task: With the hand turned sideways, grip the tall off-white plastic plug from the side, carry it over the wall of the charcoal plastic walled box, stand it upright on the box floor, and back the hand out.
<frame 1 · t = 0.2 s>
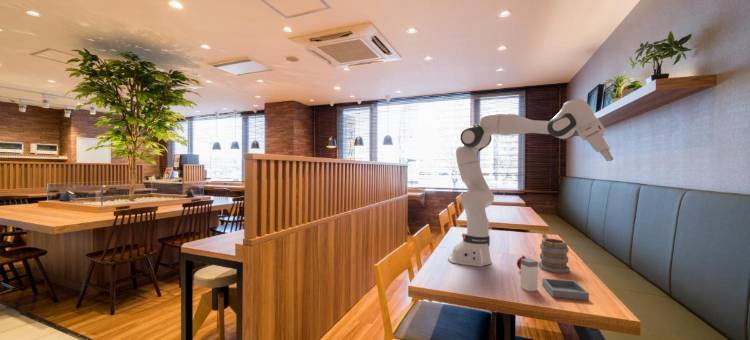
hand: (610, 160, 126), 54 cm above the table, tool tilted 30°, fingers open, 8 cm apart
onion: (523, 272, 148), on the table
tankard: (550, 266, 156), on the table
plug: (528, 288, 128), on the table
walled box: (564, 292, 124), on the table
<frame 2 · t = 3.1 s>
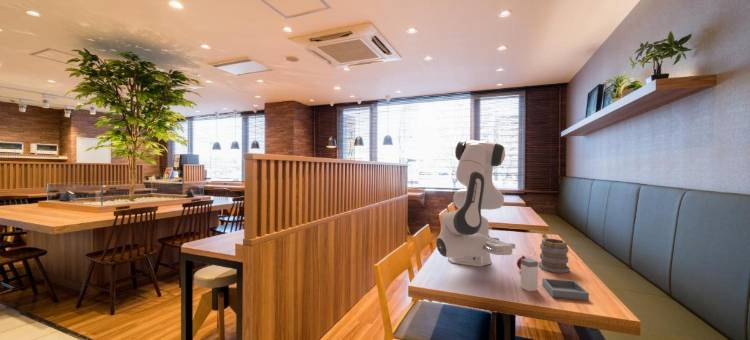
hand: (505, 242, 124), 20 cm above the table, tool horizontal, fingers open, 8 cm apart
nothing on the table moved.
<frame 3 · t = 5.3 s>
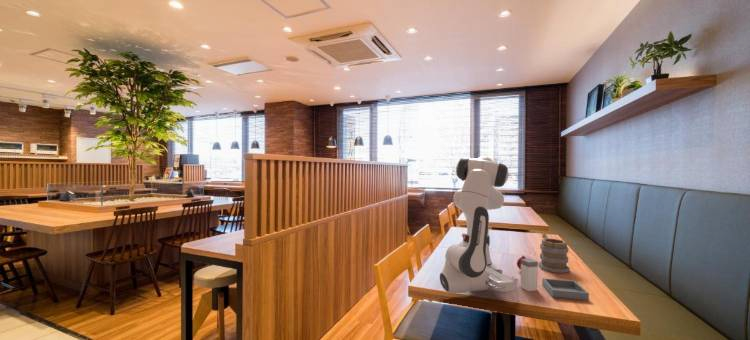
hand: (508, 275, 125), 6 cm above the table, tool horizontal, fingers open, 8 cm apart
nothing on the table moved.
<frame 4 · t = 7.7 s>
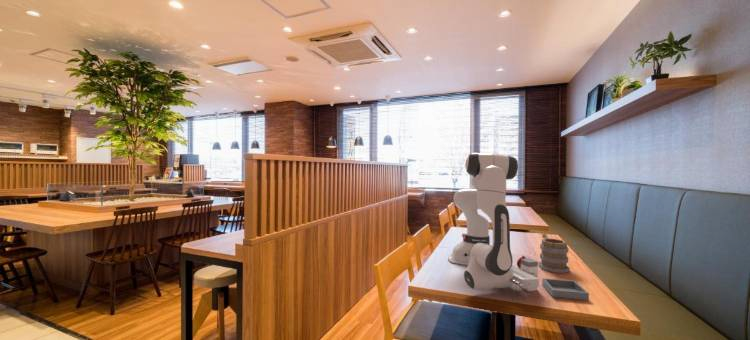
hand: (530, 273, 128), 7 cm above the table, tool horizontal, fingers closed on plug, 4 cm apart
plug: (528, 288, 128), on the table, touching gripper
everything else where it was.
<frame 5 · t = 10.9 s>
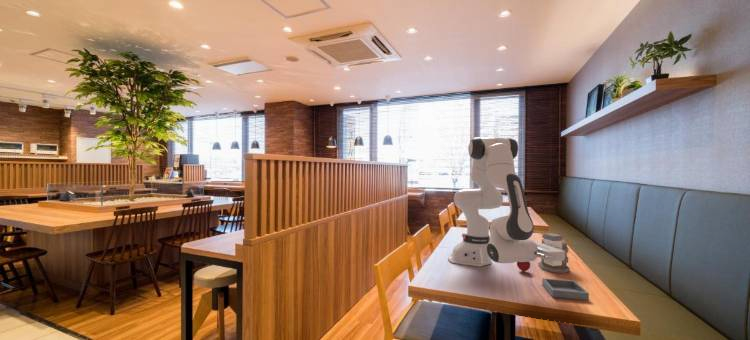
hand: (554, 247, 125), 18 cm above the table, tool horizontal, fingers closed on plug, 4 cm apart
plug: (552, 263, 125), point 11 cm above the table, touching gripper
everything else where it was.
when the fingers open (8 cm above the table, at t = 14.0 s): plug drops 1 cm, resting on walled box.
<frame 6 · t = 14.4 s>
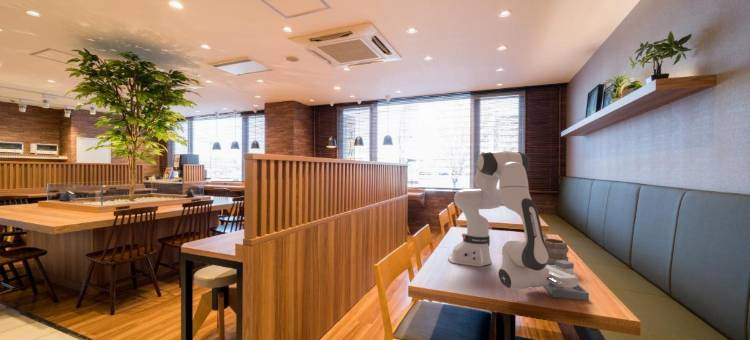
hand: (566, 271, 124), 8 cm above the table, tool horizontal, fingers open, 8 cm apart
plug: (563, 291, 124), resting on walled box
everything else where it was.
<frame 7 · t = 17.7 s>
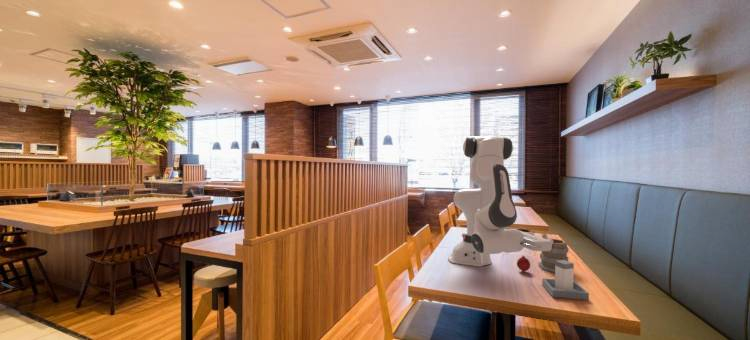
hand: (542, 238, 121), 23 cm above the table, tool horizontal, fingers open, 8 cm apart
nothing on the table moved.
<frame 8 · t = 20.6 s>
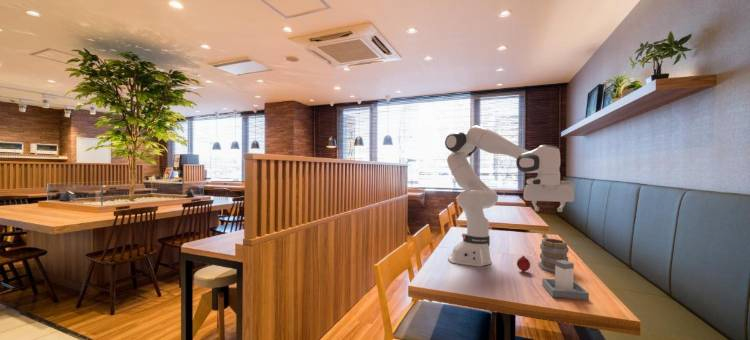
hand: (548, 211, 138), 31 cm above the table, tool pointing down, fingers open, 8 cm apart
nothing on the table moved.
at the end: plug inside the target area on the walled box (0.1 cm from its centre), point 0.5 cm above the walled box's base; plug tilted 0°; the gripper is holding nothing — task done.
